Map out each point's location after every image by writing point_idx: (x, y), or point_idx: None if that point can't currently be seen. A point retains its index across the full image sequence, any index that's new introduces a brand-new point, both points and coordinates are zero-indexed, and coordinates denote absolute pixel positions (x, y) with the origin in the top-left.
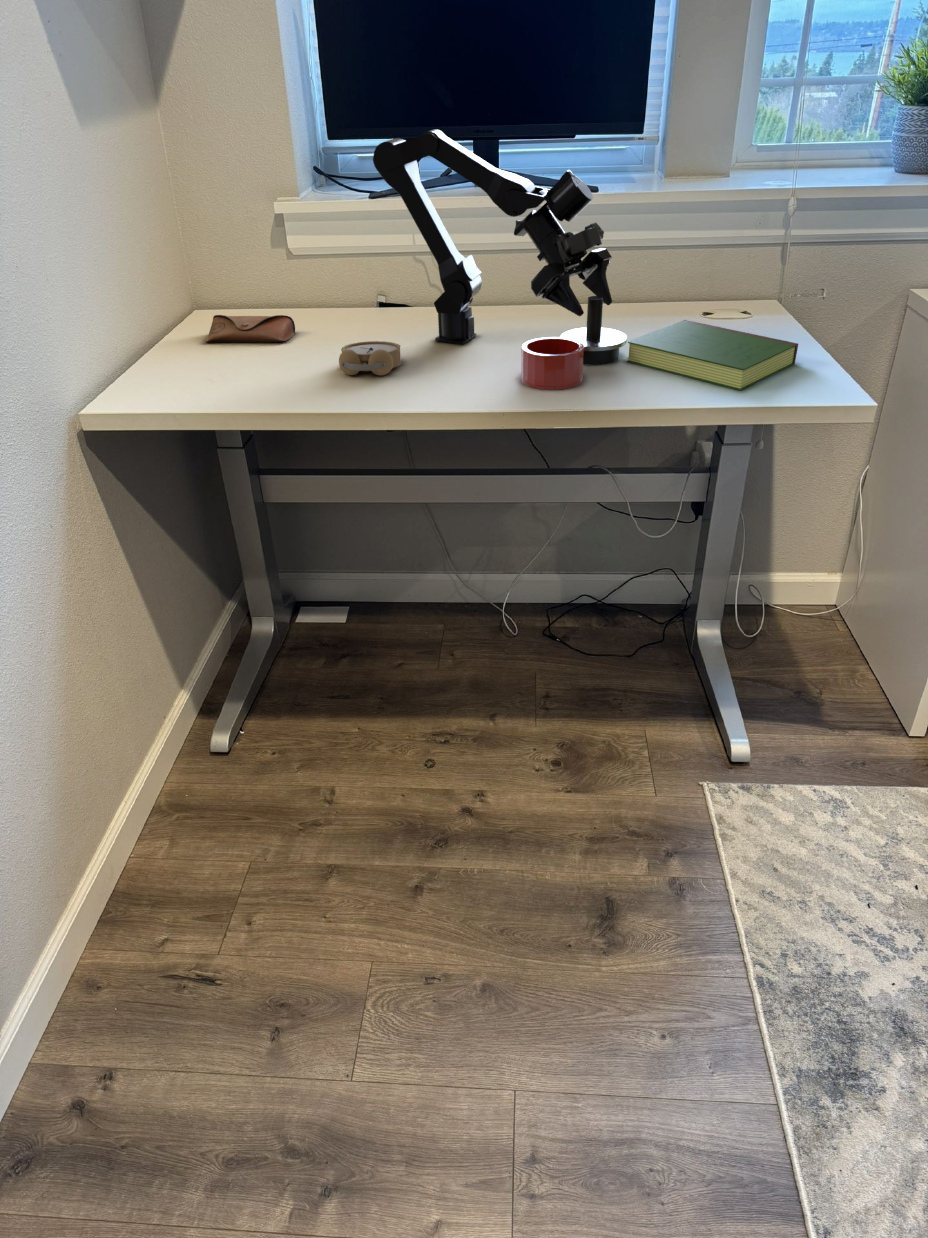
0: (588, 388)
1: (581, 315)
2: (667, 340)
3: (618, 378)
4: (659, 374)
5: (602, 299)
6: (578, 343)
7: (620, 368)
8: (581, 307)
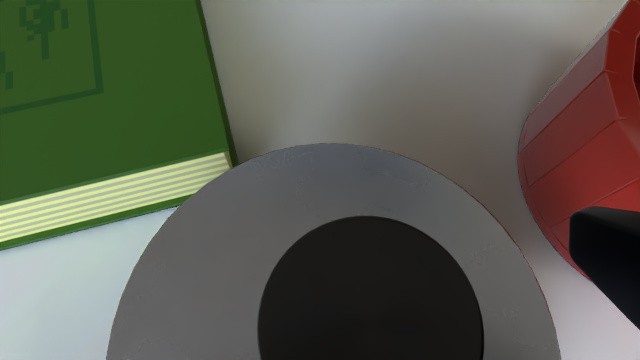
0: (544, 43)
1: (572, 241)
2: (57, 58)
3: (396, 62)
4: (244, 21)
5: (313, 230)
6: (627, 68)
7: (321, 138)
8: (625, 225)
